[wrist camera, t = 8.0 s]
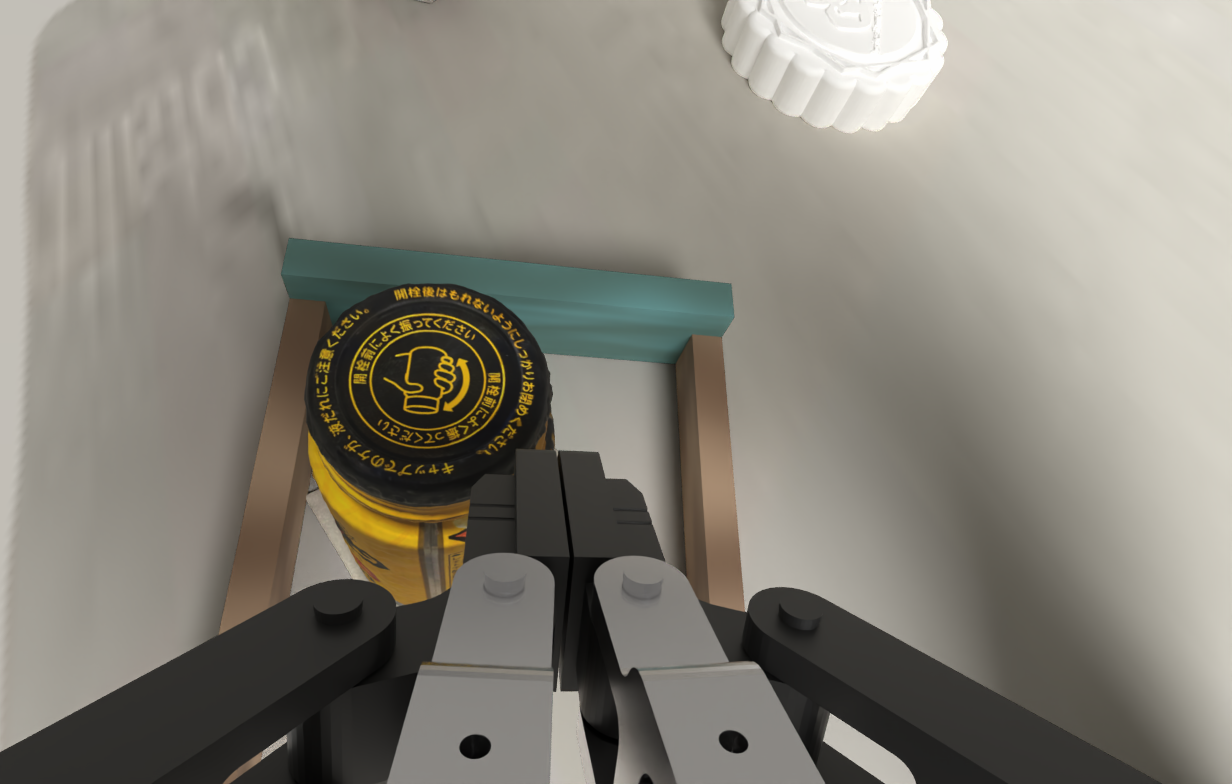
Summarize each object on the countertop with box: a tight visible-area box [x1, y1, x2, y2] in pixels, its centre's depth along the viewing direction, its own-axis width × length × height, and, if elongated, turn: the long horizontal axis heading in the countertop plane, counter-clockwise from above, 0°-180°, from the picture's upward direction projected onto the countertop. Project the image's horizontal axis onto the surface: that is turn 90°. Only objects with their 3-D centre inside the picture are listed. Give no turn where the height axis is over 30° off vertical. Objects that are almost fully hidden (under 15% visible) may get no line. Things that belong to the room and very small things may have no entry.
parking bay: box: [218, 238, 745, 784], centre depth 24 cm, size 20×16×4 cm
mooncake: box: [721, 0, 948, 133], centre depth 40 cm, size 12×12×4 cm
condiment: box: [304, 283, 558, 607], centre depth 21 cm, size 7×8×12 cm
